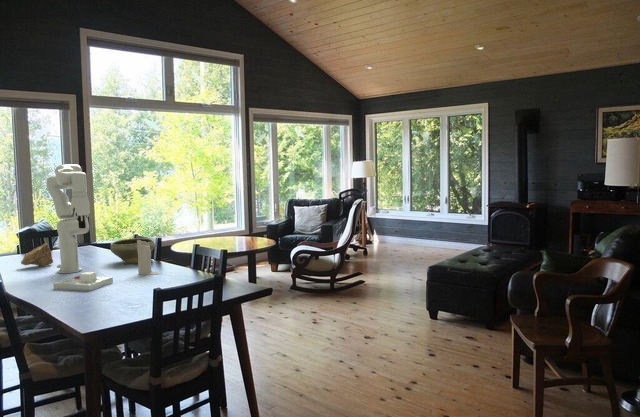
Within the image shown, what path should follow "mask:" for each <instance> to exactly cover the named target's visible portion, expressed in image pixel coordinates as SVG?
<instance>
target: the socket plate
mask: <svg viewBox="0 0 640 417" xmlns="http://www.w3.org/2000/svg"><path fill="white" fill-rule="evenodd" d="M96 279H97V280H96V281H93V282H80V274H79V275H77V276H73V277H70V278H67V279H64V280H60V281H58V282H53V283H52V284H53V285H52V286H53V290H61V291H62V290H63V291H80V292H81V291H83V292H92V291H94V290H97V289H99V288H102V287H105V286H108V285H110V284H113V283H114V280H113V279H114V277H113V276H96Z"/></svg>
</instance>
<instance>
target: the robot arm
mask: <svg viewBox="0 0 640 417" xmlns="http://www.w3.org/2000/svg"><path fill="white" fill-rule="evenodd" d="M54 174H55V175H52V176H49V177H48V178H47V179H46V183H45V184H46V188H47V192H48V193H49V195H50V197H51V199H52V201H53V205H54V209H55V213H56V216H57V218H58V219H59V221H58V222H57V223H56V230H57V231H56V232H57V234H58V240H59V241H58V242H59V252H60V254H59V255H60V263H59V264H57V265H56V268H57V269H59V270H58V273H59V274H74V273H79V272H82V270H83V268H82V267H80V264H79V248H78V240H77V239H76V238H74V235H83V234H88V232H90V231H89V230H90V224H89V219H88V218H89V217H90V214H91V206H90V199H89V195H88V181H87V180H88V178H87V173H86V172H83V169H82V167H81V166H80V165H79V164H60V165H58V166H56V168H55V169H54ZM62 190H71V192H72V193H71V196H72V198H71V201H70V197H69V196H68V195H67V194H66V193H65V192H64V191H62Z"/></svg>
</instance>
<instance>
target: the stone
mask: <svg viewBox="0 0 640 417" xmlns="http://www.w3.org/2000/svg"><path fill="white" fill-rule="evenodd" d="M23 256H24V257H23V258H22V260H21V261H20V264H21V265H24V266H30V265H33V266H34V265H35V266H38V267H43V266H44V267H45V266H49V265H52V264H54V259H53V255H52V250H51V249H50V247H49V243H47V242H44V243H43V244H41V245H40V246H37V247H35V248H33V249H32V250H31V251H29V252H27V253H25V254H24V255H23Z"/></svg>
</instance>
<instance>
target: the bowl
mask: <svg viewBox="0 0 640 417" xmlns="http://www.w3.org/2000/svg"><path fill="white" fill-rule="evenodd" d="M137 240H141V241H146V243H149V245H150V250H151V252H153V250H154V249H155V248H156V243H155V241H154V240H153V239H151V238H148V237H147V238H146V237H137V238H136V237H135V238H123V239H117V240H114V241H113V242H110V252H111V253H112V254H114V255H115V256H116V257H117V258H119V259H121V260H122V261H123V262H124V263H127V264H136V263H137V264H138V251H137Z"/></svg>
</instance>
